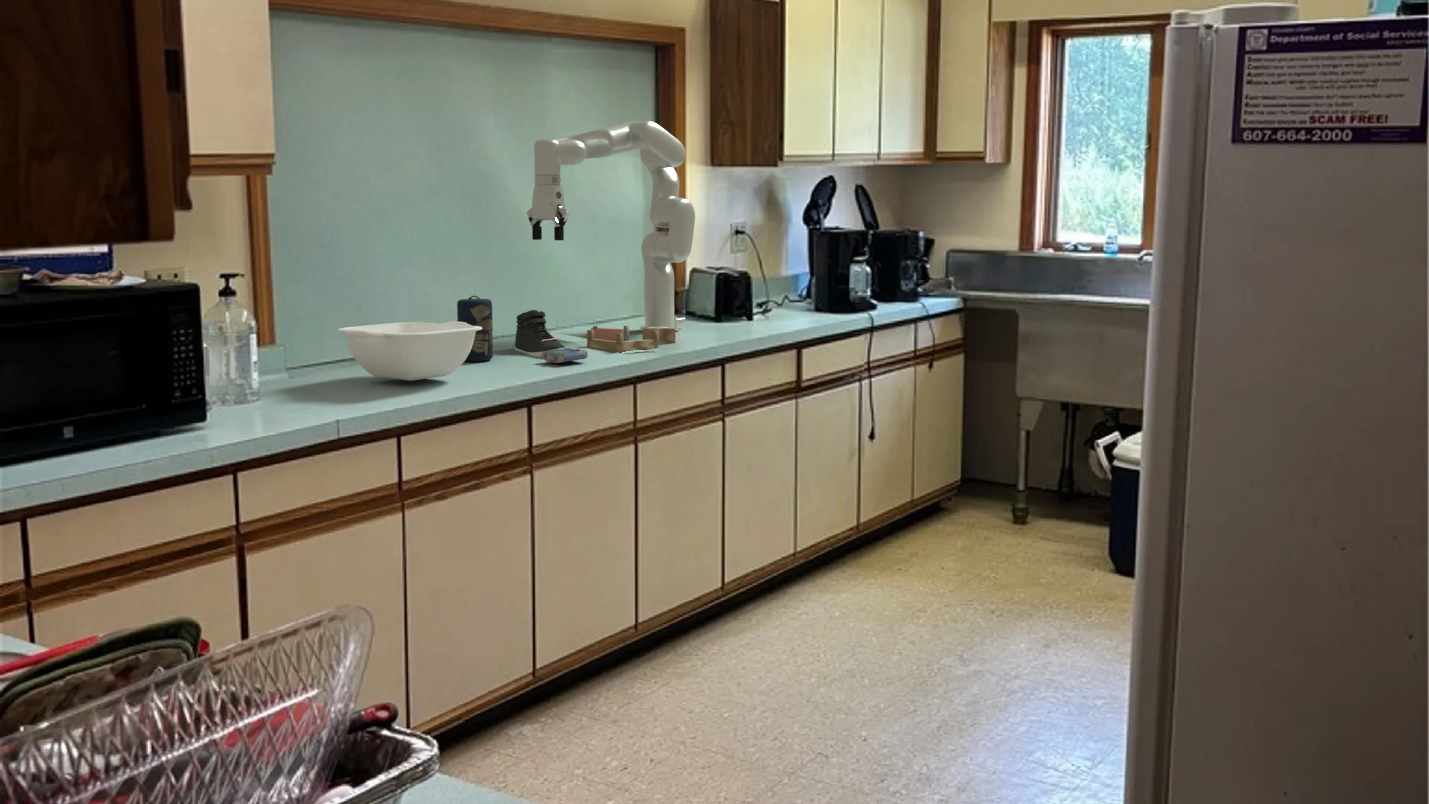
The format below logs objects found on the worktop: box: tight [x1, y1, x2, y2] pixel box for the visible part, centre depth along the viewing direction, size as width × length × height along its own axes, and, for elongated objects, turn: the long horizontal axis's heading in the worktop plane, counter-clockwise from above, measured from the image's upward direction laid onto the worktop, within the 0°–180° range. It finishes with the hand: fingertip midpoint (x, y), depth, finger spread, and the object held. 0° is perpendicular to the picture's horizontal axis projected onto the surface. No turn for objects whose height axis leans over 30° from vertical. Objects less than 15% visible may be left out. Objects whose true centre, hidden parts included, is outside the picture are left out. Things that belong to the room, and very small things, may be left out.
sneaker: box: [513, 309, 566, 359], centre depth 391 cm, size 10×26×13 cm, turn 37°
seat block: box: [642, 327, 676, 346], centre depth 414 cm, size 7×7×6 cm
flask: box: [541, 347, 589, 364], centre depth 374 cm, size 9×3×11 cm
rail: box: [590, 325, 630, 341], centre depth 416 cm, size 12×2×6 cm, turn 68°
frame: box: [586, 329, 660, 354], centre depth 405 cm, size 16×16×6 cm
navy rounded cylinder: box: [456, 295, 494, 363], centre depth 376 cm, size 10×10×18 cm
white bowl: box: [337, 321, 482, 381], centre depth 342 cm, size 34×28×13 cm
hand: (548, 240), depth 408 cm, fingers open, 9 cm apart
